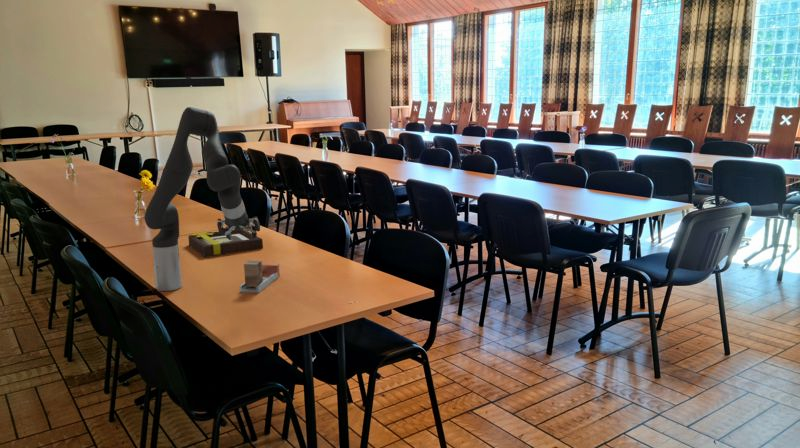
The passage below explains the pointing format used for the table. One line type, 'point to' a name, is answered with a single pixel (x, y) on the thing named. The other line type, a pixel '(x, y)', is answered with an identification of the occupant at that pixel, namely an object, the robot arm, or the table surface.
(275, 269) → the track
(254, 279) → the slider block
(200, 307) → the table surface
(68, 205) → the table surface
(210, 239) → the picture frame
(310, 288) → the table surface
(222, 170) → the robot arm
